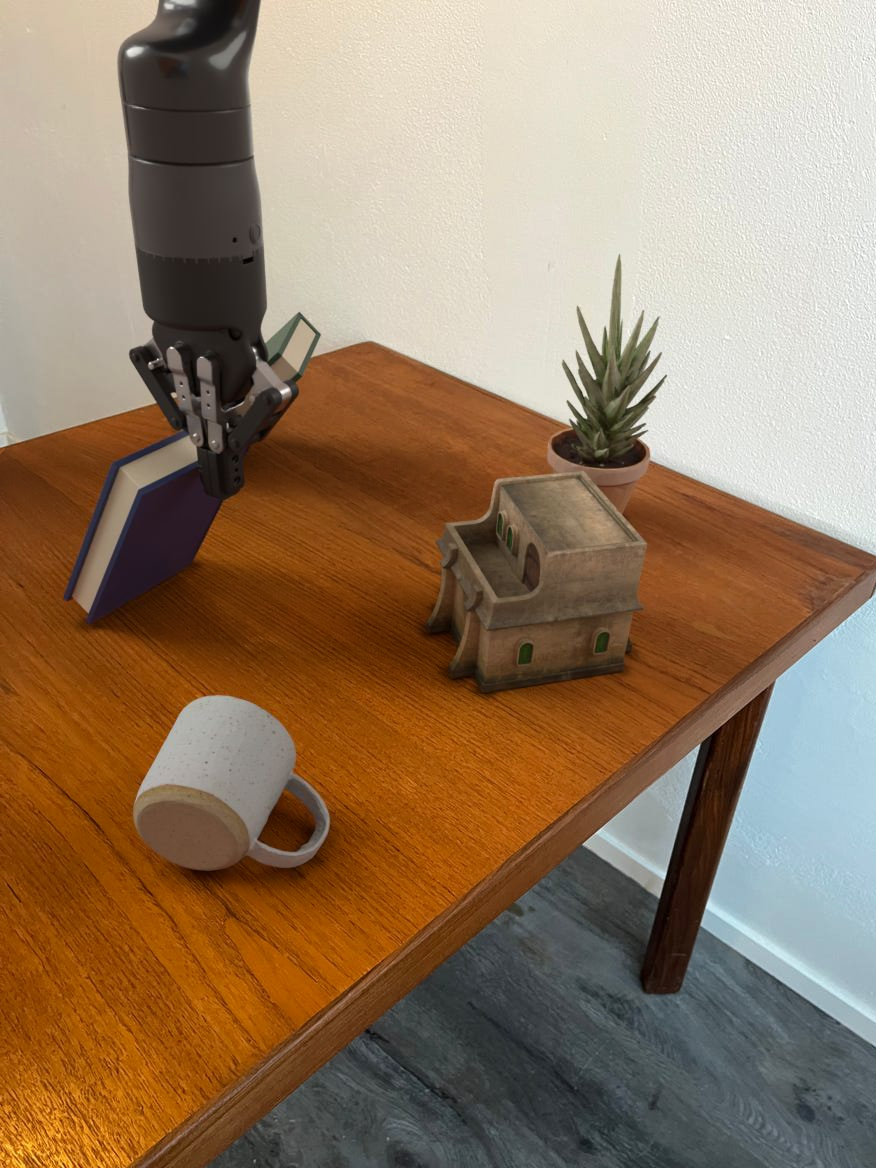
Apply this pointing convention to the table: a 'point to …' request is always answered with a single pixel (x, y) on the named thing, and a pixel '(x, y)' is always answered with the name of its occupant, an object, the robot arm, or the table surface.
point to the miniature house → (539, 584)
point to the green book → (292, 348)
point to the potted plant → (609, 409)
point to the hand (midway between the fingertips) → (223, 493)
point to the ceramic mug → (223, 788)
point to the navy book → (143, 526)
